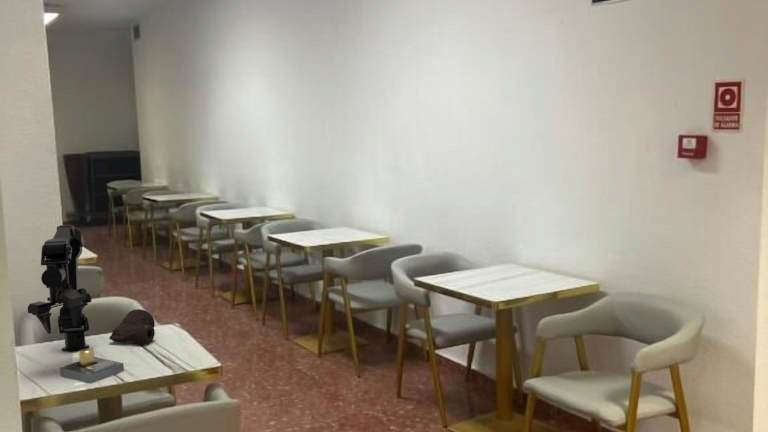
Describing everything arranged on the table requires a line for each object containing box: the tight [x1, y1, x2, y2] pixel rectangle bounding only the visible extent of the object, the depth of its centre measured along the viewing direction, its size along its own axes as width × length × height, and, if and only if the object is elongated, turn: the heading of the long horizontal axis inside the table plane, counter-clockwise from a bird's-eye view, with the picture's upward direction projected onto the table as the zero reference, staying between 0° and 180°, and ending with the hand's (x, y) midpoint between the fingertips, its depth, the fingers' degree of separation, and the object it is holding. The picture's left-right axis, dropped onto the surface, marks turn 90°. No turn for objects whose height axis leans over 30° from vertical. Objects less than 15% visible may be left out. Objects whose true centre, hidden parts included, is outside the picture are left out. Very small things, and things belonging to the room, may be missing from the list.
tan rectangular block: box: [78, 347, 95, 368], centre depth 224 cm, size 4×4×7 cm
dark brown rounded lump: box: [109, 309, 156, 346], centre depth 258 cm, size 10×15×15 cm
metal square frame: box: [59, 356, 125, 384], centre depth 224 cm, size 14×12×3 cm
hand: (62, 329), depth 229 cm, fingers open, 9 cm apart
